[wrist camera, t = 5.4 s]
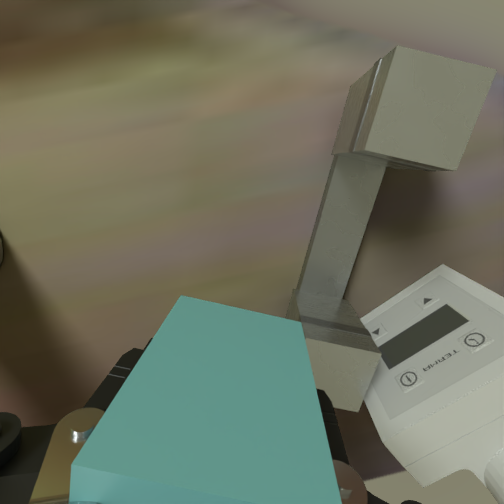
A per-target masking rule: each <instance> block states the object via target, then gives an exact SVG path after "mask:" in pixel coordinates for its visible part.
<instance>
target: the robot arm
mask: <svg viewBox="0 0 504 504" xmlns="http://www.w3.org/2000/svg"><path fill="white" fill-rule="evenodd" d="M2 257H3V247H2V241H1V238H0V265H1V262H2ZM152 339H153V338H151V339H150V340H149V342H148V344H147V345H146V347H145V348H144V350H141V349H137V348H133V349H132V350H130V351H128V352H127V353H125V354H124V355H122V357H121V358H120V359H119V361H118V362H117V363H116V365H115V367H113V369H112V370H111V371H110V373H109V375H107V377H106V378H105V379H104V381H103V382H102V383H101V385H100V386H99V387H98V389H97V390H96V391H95V393H94V394H93V395H92V397H91V398H90V399H89V401H88V402H87V403H86V405H85V406H84V407H83V408H82V409H78V410H76V411H73V412H71V413H69V414H68V415H66V416H65V417H64V418H62V419H61V420H60V421H59V422H58V423H57V424H53V425H47V426H34V427H21V421H20V419H19V418H18V417H17V416H16V415H14V414H11V413H7V412H0V504H97V502H92V501H73V502H69V495H70V478H71V464H72V463H73V461H74V459H75V458H76V456H77V455H78V453H79V452H80V450H81V449H82V447H83V446H84V444H85V442H86V441H87V439H88V438H89V436H90V435H91V433H92V432H93V430H94V429H95V427H96V426H97V424H98V422H99V421H100V419H101V418H102V416H103V415H104V413H105V412H106V410H107V409H108V407H109V405H110V404H111V402H112V401H113V399H114V398H115V396H116V395H117V393H118V392H119V390H120V388H121V387H122V385H123V384H124V382H125V381H126V379H127V378H128V376H129V375H130V373H131V372H132V370H133V368H134V367H135V365H136V364H137V362H138V361H139V359H140V358H141V356H142V355H143V353H144V351H145V350H146V348H147V347H148V345H149V344H150V342H151V341H152ZM316 390H317V395H318V399H319V404H320V408H321V413H322V417H323V421H324V426H325V430H326V435H327V439H328V444H329V448H330V453H331V457H332V462H333V466H334V471H335V475H336V479H337V484H338V488H339V493H340V497H341V502H342V504H389V503H387V502H385V501H383V500H381V499H379V498H378V497H376V496H374V495H372V494H371V493H370V492H369V491H367V490H366V487H365V484H364V482H363V480H362V479H361V477H360V476H359V475H358V473H357V472H356V471H355V470H354V469H353V468H351V467H350V466H349V462H348V459H347V455H346V451H345V448H344V444H343V441H342V437H341V433H340V430H339V426H338V422H337V419H336V416H335V412H334V408H333V404H332V401H331V400H330V398H329V397H328V395H327V394H326V393H325V391H324V390H321V389H317V388H316ZM401 504H421V503H419V502H417V501H413V500H407V501H404V502H402V503H401Z"/></svg>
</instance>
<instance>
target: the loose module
mask: <svg viewBox="0 0 504 504" xmlns="http://www.w3.org/2000/svg"><path fill="white" fill-rule="evenodd" d="M73 501H92V502H97V504H342V502H341V497H340V493H339V488H338V484H337V479H336V475H335V471H334V466H333V462H332V457H331V453H330V448H329V444H328V439H327V435H326V430H325V426H324V421H323V417H322V413H321V408H320V404H319V399H318V395H317V390H316V386H315V381H314V377H313V372H312V368H311V363H310V359H309V355H308V350H307V346H306V341H305V337H304V332H303V328H302V323H301V322H298V321H294V320H289V319H285V318H280V317H276V316H271V315H267V314H262V313H258V312H253V311H249V310H245V309H240V308H236V307H231V306H227V305H222V304H218V303H213V302H209V301H204V300H200V299H195V298H191V297H187V296H182V295H181V296H180V297H179V299H178V301H177V302H176V304H175V305H174V307H173V308H172V310H171V311H170V313H169V314H168V316H167V318H166V319H165V321H164V322H163V324H162V325H161V327H160V328H159V330H158V331H157V333H156V335H155V336H154V338H153V339H152V341H151V342H150V344H149V345H148V347H147V348H146V350H145V351H144V353H143V355H142V356H141V358H140V359H139V361H138V362H137V364H136V365H135V367H134V368H133V370H132V372H131V373H130V375H129V376H128V378H127V379H126V381H125V382H124V384H123V385H122V387H121V388H120V390H119V392H118V393H117V395H116V396H115V398H114V399H113V401H112V402H111V404H110V405H109V407H108V409H107V410H106V412H105V413H104V415H103V416H102V418H101V419H100V421H99V422H98V424H97V426H96V427H95V429H94V430H93V432H92V433H91V435H90V436H89V438H88V439H87V441H86V442H85V444H84V446H83V447H82V449H81V450H80V452H79V453H78V455H77V456H76V458H75V459H74V461H73V463H72V464H71V478H70V495H69V502H73Z"/></svg>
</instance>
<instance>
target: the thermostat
mask: <svg viewBox="0 0 504 504" xmlns="http://www.w3.org/2000/svg"><path fill="white" fill-rule="evenodd" d="M360 320H361V322H362V323H363V325H364V326H365V328H366V329H368V331H369V332H370V334H371V336H372V339H373V341H374V342H375V344H376V345H377V347H378V348H379V350H380V352H381V353H382V355H381V357H380V360H379V362H378V365H377V367H376V370H375V372H374V375H373V377H372V379H371V382H370V384H369V387H368V389H367V392H366V394H365V397H364V401H365V404H366V406H367V408H368V410H369V413H370V415H371V417H372V420H373V422H374V424H375V427H376V429H377V431H378V433H379V436H380V438H381V440H382V443H383V444H384V445H385V446H386V447H387V448H388V450H389V451H390V452H391V453H392V454H393V455H394V457H395V458H396V459H397V460H398V461H399V462H400V464H401V465H402V466H403V467H404V468H405V469H406V470H407V471H408V472H409V473H410V474H411V476H412V477H413V478H414V479H415V480H416V481H417V482H418V483H419V484H420V485H421V486H422V487H423V488H424V487H426V486H428V485H430V484H432V483H434V482H436V481H438V480H440V479H442V478H444V477H446V476H448V475H450V474H452V473H454V472H456V471H458V470H461V469H468V470H470V471H472V472H473V473H474V474H475V475H476V476H477V477H478V478H479V480H480V481H481V482H482V483H483V484H484V485H485V486H486V487H487V488H488V489H489V491H490V492H491V494H492V495H493V497H494V498H495V499H496V501H497V502H498V504H504V298H503V297H502V296H500V295H498V294H496V293H494V292H493V291H491V290H489V289H487V288H485V287H484V286H482V285H480V284H478V283H476V282H474V281H473V280H471V279H469V278H467V277H465V276H464V275H462V274H460V273H458V272H456V271H455V270H453V269H451V268H449V267H447V266H446V265H444V264H442V265H440V266H439V267H437V268H436V269H434V270H433V271H431V272H430V273H428V274H427V275H425V276H424V277H422V278H421V279H419V280H418V281H416V282H415V283H413V284H412V285H410V286H409V287H407V288H406V289H404V290H403V291H401V292H400V293H398V294H397V295H395V296H394V297H392V298H391V299H389V300H388V301H386V302H385V303H383V304H382V305H380V306H379V307H377V308H376V309H374V310H373V311H371V312H370V313H368V314H367V315H365V316H364V317H362V318H361V319H360Z"/></svg>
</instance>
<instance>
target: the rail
mask: <svg viewBox="0 0 504 504" xmlns="http://www.w3.org/2000/svg"><path fill="white" fill-rule="evenodd" d="M496 71H497V70H496V69H492V68H488V67H484V66H479V65H475V64H471V63H467V62H463V61H459V60H455V59H451V58H447V57H443V56H438V55H434V54H430V53H426V52H422V51H418V50H414V49H410V48H406V47H402V46H398V45H397V46H396V47H395V48H394V49H392V50H391V51H390V52H389V53H388V54H387V55H386V56H384V57H383V58H380V59H379V60H378V61H377V62H376V63H375V64H374V66H373V67H372V68H371V69H370V70H368V71H367V72H366V73H365V74H364V75H363V76H362V77H360V78H359V79H358V80H357V81H356V82H355V83H354V84H352V85H351V86H350V89H349V93H348V97H347V100H346V104H345V107H344V111H343V114H342V118H341V121H340V125H339V129H338V132H337V136H336V139H335V143H334V146H333V150H332V153H331V155H334V159H333V162H332V166H331V169H330V173H329V176H328V180H327V183H326V187H325V190H324V194H323V197H322V201H321V204H320V208H319V211H318V215H317V218H316V222H315V225H314V229H313V232H312V236H311V239H310V243H309V246H308V250H307V253H306V257H305V260H304V264H303V267H302V271H301V274H300V278H299V282H298V285H297V289H293V292H292V296H291V299H290V303H289V306H288V310H287V313H286V317H285V319H289V320H294V321H298V322H301V323H302V328H303V332H304V337H305V341H306V346H307V350H308V355H309V359H310V363H311V368H312V372H313V377H314V381H315V386H316V388H317V389H321V390H324V391H325V393H326V394H327V395H328V397H329V398H330V400H331V401H332V404H333V407H334V408H339V409H344V410H349V411H354V412H358V411H359V409H360V407H361V404H362V402H363V399H364V397H365V394H366V392H367V389H368V387H369V384H370V382H371V379H372V377H373V375H374V372H375V370H376V367H377V365H378V362H379V360H380V357H381V355H382V353H381V352H380V350H379V348H378V347H377V345H376V344H375V342H374V341H373V339H372V336H371V334H370V332H369V331H368V329H366V328H365V326H364V325H363V323H362V322H361V320H360V318H359V317H358V315H357V314H356V312H355V311H354V309H353V307H352V306H351V304H350V303H349V301H348V300H344V299H342V297H343V294H344V291H345V288H346V285H347V282H348V279H349V276H350V273H351V270H352V267H353V264H354V262H355V259H356V256H357V253H358V250H359V247H360V244H361V241H362V238H363V235H364V232H365V229H366V226H367V223H368V220H369V217H370V214H371V211H372V208H373V205H374V202H375V199H376V196H377V193H378V190H379V187H380V184H381V182H382V179H383V176H384V173H385V170H386V167H388V168H392V169H412V170H425V171H436V170H439V171H456V170H457V167H458V165H459V163H460V160H461V158H462V155H463V153H464V150H465V148H466V145H467V143H468V140H469V138H470V135H471V133H472V130H473V128H474V126H475V123H476V121H477V118H478V116H479V113H480V111H481V108H482V106H483V103H484V101H485V98H486V96H487V93H488V91H489V89H490V86H491V84H492V81H493V79H494V76H495V74H496Z"/></svg>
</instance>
